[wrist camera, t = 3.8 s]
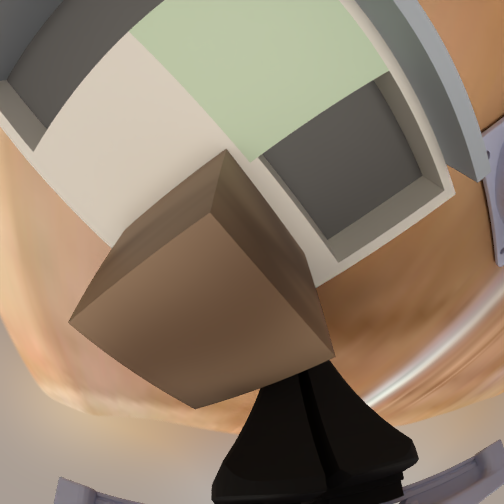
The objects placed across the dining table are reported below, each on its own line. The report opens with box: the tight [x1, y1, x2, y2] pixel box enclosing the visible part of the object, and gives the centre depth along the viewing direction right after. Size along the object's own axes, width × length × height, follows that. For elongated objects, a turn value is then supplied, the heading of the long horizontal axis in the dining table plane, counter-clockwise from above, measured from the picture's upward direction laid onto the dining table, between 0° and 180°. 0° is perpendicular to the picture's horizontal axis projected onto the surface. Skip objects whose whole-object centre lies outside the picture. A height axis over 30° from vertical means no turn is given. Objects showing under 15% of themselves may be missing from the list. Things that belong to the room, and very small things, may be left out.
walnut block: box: [68, 149, 335, 409], centre depth 8 cm, size 5×5×5 cm
